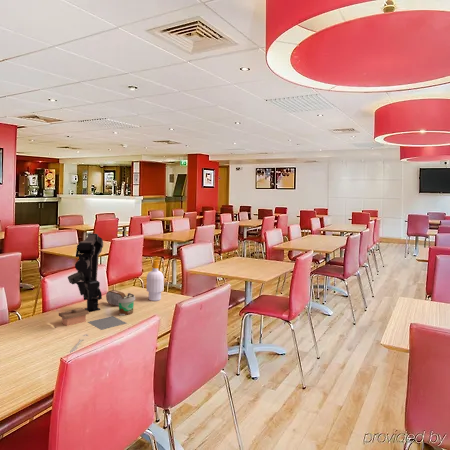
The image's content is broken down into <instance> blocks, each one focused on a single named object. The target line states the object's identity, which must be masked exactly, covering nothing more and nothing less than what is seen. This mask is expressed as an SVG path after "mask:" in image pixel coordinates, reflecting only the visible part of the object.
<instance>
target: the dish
mask: <svg viewBox="0 0 450 450" xmlns="http://www.w3.org/2000/svg"><path fill="white" fill-rule="evenodd" d="M86 317H87V316H86V315H82V316H78V317H73V318H69V319H63V318H62V317H61V323H62V324H63V325H64V326H67V327H69V326H73V325H76V324H81V323H85V322H86V321H87V320H86Z"/></svg>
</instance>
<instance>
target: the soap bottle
mask: <svg viewBox="0 0 450 450" xmlns="http://www.w3.org/2000/svg"><path fill="white" fill-rule="evenodd" d="M160 262H161V260H156V259H154V260H153V262H152V270H151V271H148V273H147V274H146V292H147V293H148V300H149V301H152V302H157V301H160V300H162V292H164V290H165V289H164V284H165V283H164V281H165V277H164V274H163V272H162V271H160V270H159V263H160Z"/></svg>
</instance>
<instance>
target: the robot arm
mask: <svg viewBox="0 0 450 450" xmlns="http://www.w3.org/2000/svg"><path fill="white" fill-rule="evenodd" d="M103 248H104V241H103V238H102V237H100V236H99V234H98V233H88V234H87V237H86V238H85V239H84V240H83V241H79V242H78V244H77V246H76V251H75V258H78V260H77V261H76V262H75V265H74V268H75V270H76V271H77V272H75V273H72V274H70V275H68V276H67V279H68V283H69V284H72V285H75V284H76V286H77V288H78V291H79V293H80V296H82V297H83V301H86V308H84V309H85V310H87V311H89V313H91V312H92V313H93V312H97V311H101V308H100V307H99V301H100V300H103V297H102V296H103V295H102V291H101V289H100V284H101V283H100V281H99V280H98V266H99V255H100V254H101V253H102V252H103Z"/></svg>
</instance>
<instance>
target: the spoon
mask: <svg viewBox="0 0 450 450" xmlns="http://www.w3.org/2000/svg"><path fill="white" fill-rule="evenodd" d="M84 336H85V337H89V334H87V333H86V334H83V335H82V337H84ZM82 341H83V339H79V340H78V342H77V343H76V344H75V345H74V346H73V348H72V349H71V350H70V351H69V352H70V353H71V352H73V351H75V352H76V351H77V348H78V346H79V344H80V343H81V342H82Z"/></svg>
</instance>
